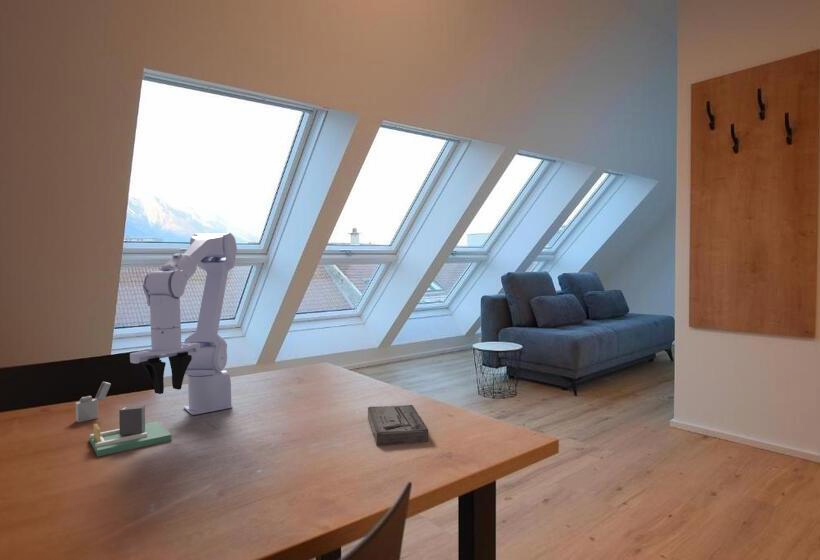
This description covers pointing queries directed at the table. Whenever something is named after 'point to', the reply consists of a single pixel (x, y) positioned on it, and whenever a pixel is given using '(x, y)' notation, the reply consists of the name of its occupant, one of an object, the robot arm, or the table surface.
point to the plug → (132, 420)
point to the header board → (127, 439)
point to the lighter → (90, 404)
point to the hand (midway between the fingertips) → (168, 390)
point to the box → (396, 425)
